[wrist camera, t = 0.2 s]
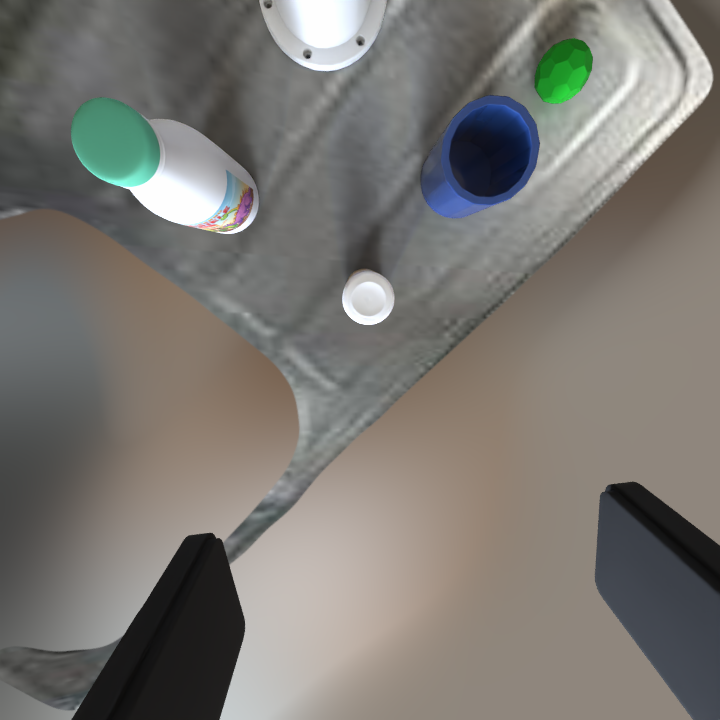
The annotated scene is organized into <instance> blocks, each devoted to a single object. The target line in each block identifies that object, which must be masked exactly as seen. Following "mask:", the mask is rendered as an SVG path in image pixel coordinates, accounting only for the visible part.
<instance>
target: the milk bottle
mask: <svg viewBox="0 0 720 720" xmlns="http://www.w3.org/2000/svg"><path fill="white" fill-rule="evenodd" d="M71 138H72V143H73V147H74V149H75V152H76V154H77V156H78V158H79V159H80V161H81V162H82V163H83V165H84V166H85V167H86V168H87V169H88V170H89V171H90V172H92V173H93V174H94V175H95V176H97V177H98V178H100V179H102V180H104V181H106V182H109V183H112V184H115V185H118V186H122V187H124V188H128V189H130V190H131V192H132V193H133V194H134V196H135V197H136V198H137V199H138V200H139V201H140V202H141V203H142V204H143V205H144V206H145V207H147V208H148V209H149V210H151V211H152V212H154V213H155V214H157V215H159V216H161V217H163V218H165V219H167V220H170V221H173V222H176V223H179V224H182V225H187V226H191V227H195V228H199V229H204V230H209V231H213V232H218V233H226V234H230V233H236V232H239V231H242V230H243V229H245V228H246V227H248V226H249V225H250V224H251V223H252V221H253V220H254V218H255V216H256V214H257V211H258V206H259V195H258V190H257V187H256V184H255V182H254V180H253V178H252V177H251V176H250V174H249V173H248V172H247V171H246V170H245V169H244V168H243V167H242V166H241V165H240V164H239V163H237V162H236V161H235V160H234V159H233V158H231V157H230V156H229V155H228V154H227V153H226V152H224V151H223V150H222V149H221V148H219V147H218V146H217V145H216V144H215V143H213V142H212V141H211V140H209V139H208V138H207V137H205V136H204V135H203V134H201V133H200V132H198V131H197V130H195V129H193V128H191V127H189V126H187V125H185V124H183V123H180V122H177V121H173V120H167V119H152V120H148V119H147V118H145V117H144V116H142V115H141V114H139V113H138V112H137V111H135V110H134V109H133V108H131V107H129V106H128V105H126V104H124V103H122V102H120V101H118V100H115V99H111V98H102V97H100V98H94V99H91V100H89V101H87V102H85V103H84V104H82V105H81V106H80V107H79V109H78V110H77V111H76V113H75V115H74V118H73V121H72V125H71Z"/></svg>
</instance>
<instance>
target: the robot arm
mask: <svg viewBox="0 0 720 720" xmlns="http://www.w3.org/2000/svg"><path fill="white" fill-rule="evenodd" d="M259 2H260V6H261V10H262V13H263V17H264V19H265V22H266V25H267V27H268V29H269V31H270V33H271V35H272V37H273V39H274V40H275V42H276V43H277V44H278V46H279V47H280V48H281V49H282V51H283V52H284V53H285V54H287V55H288V56H289V57H290V58H291V59H292V60H294V61H295V62H297V63H299V64H301V65H302V66H304V67H307V68H310V69H313V70H320V71H331V70H338V69H341V68H344V67H346V66H349V65H350V64H352V63H354V62H355V61H357V60H358V59H360V58H361V57H362V56H363V55H364V54H365V53H366V52H367V51H368V49H369V48H370V47H371V45H372V44H373V42H374V41H375V39H376V37H377V35H378V33H379V31H380V29H381V26H382V22H383V19H384V15H385V9H386V3H387V0H259ZM268 7H271V8H269V9H268ZM360 43H361V44H362V46H359V45H358V44H360ZM307 56H310V57H311V58H309V59H306V57H307ZM598 522H599V523H598V537H597V553H596V569H595V582H596V586H597V589H598V591H599V593H600V595H601V596H602V597H603V599H604V600H605V602H606V603H607V605H608V606H609V607H610V608H611V610H612V611H613V613H614V614H615V615H616V617H617V618H618V619H619V621H620V622H621V623H622V625H623V626H624V627H625V629H626V630H627V631H628V633H629V634H630V635H631V637H632V638H633V639H634V641H635V642H636V643H637V645H638V646H639V648H640V649H641V650H642V652H643V653H644V654H645V656H646V657H647V658H648V660H649V661H650V662H651V663H652V665H653V666H654V668H655V669H656V670H657V672H658V673H659V674H660V676H661V677H662V678H663V680H664V681H665V682H666V684H667V685H668V687H669V688H670V689H671V691H672V692H673V693H674V694H675V696H676V697H677V699H678V700H679V701H680V703H681V704H682V705H683V707H684V708H685V709H686V711H687V712H688V713H689V715H690V716H691V717H692V719H693V720H720V545H718V544H717V543H716V542H714V541H713V540H712V539H711V538H709V537H708V536H706V535H705V534H704V533H703V532H701V531H700V530H699V529H698V528H696V527H695V526H694V525H692V524H691V523H690V522H688V521H687V520H686V519H685V518H683V517H682V516H681V515H679V514H678V513H677V512H675V511H674V510H673V509H672V508H670V507H669V506H668V505H666V504H665V503H664V502H662V501H661V500H660V499H659V498H657V497H656V496H654V495H653V494H652V493H650V492H649V491H648V490H647V489H645V488H644V487H643V486H642V485H640V484H638V483H636V482H627V483H618V484H611V485H608V486H607V487H606V490H605V492H602V493H601V495H600V505H599V521H598ZM244 632H245V620H244V616H243V612H242V609H241V605H240V601H239V598H238V595H237V591H236V588H235V584H234V581H233V577H232V573H231V570H230V566H229V563H228V559H227V556H226V552H225V549H224V545H223V542H222V540H221V539H220V538H217V539H216V537H215V535H214V534H213V533H205V534H197V535H189V536H187V537H186V538H185V539H184V541H183V542H182V544H181V546H180V547H179V549H178V550H177V552H176V554H175V555H174V557H173V558H172V560H171V562H170V563H169V565H168V566H167V568H166V570H165V572H164V573H163V575H162V576H161V578H160V579H159V581H158V583H157V584H156V586H155V587H154V589H153V591H152V592H151V594H150V596H149V597H148V599H147V601H146V602H145V604H144V605H143V607H142V608H141V610H140V611H139V612H138V614H137V615H136V617H135V618H134V620H133V622H132V623H131V625H130V626H129V628H128V629H127V631H126V633H125V634H124V636H123V637H122V639H121V641H120V642H119V644H118V646H117V647H116V649H115V650H114V652H113V654H112V655H111V657H110V658H109V660H108V662H107V663H106V665H105V666H104V668H103V670H102V671H101V673H100V675H99V676H98V678H97V679H96V681H95V683H94V684H93V686H92V687H91V689H90V691H89V692H88V694H87V695H86V697H85V699H84V700H83V702H82V703H81V705H80V707H79V708H78V710H77V712H76V713H75V715H74V717H73V718H72V720H219V719H220V716H221V712H222V709H223V706H224V702H225V699H226V695H227V692H228V689H229V685H230V682H231V679H232V675H233V672H234V669H235V665H236V662H237V658H238V655H239V652H240V648H241V645H242V642H243V638H244Z"/></svg>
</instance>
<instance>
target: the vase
mask: <svg viewBox="0 0 720 720" xmlns="http://www.w3.org/2000/svg"><path fill="white" fill-rule="evenodd" d="M539 146H540V142H539V137H538V131H537V126H536V123H535V121H534V120H533V118H532V117H531V115H530V114H529V112H528V111H527V109H526V108H525V107H524V106H523V105H521V104H520V103H518V102H516V101H515V100H513V99H511V98H510V97H507V96H494V95H487V96H484V97H482V98H479V99H477V100H474V101H472V102H469V103H468V104H467V105H466V106H465V107H464V108H463V109H461V110H460V111H459V112H458V113H457V114H456V115H455V116H454V117H453V119H452V120H451V121H450V123H449V124H448V126H447V127H446V129H445V130H444V132H443V133H442V135H441V136H440V137H439V139H438V140H437V142H436V143H435V145H434V146H433V148H432V149H431V150H430V152H429V154H428V156H427V158H426V160H425V162H424V164H423V168H422V171H421V189H422V193H423V196H424V198H425V200H426V202H427V203H428V205H429V206H430V207H431V208H432V209H433V210H434V211H435V212H437V213H438V214H440V215H442V216H445V217H448V218H462V217H465V216H468V215H471V214H473V213H476V212H479V211H481V210H484V209H486V208H489V207H491V206H494V205H496V204H499V203H501V202H504V201H506V200H509V199H510V198H512V197H513V196H514V195H515V194H516V193H517V192H519V191H520V190H521V189H522V188H523V187H524V186H525V185H526V184H527V182H528V180H529V178H530V176H531V175H532V173H533V171H534V169H535V167H536V164H537V158H538V152H539Z"/></svg>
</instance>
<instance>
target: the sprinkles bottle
mask: <svg viewBox="0 0 720 720" xmlns="http://www.w3.org/2000/svg"><path fill="white" fill-rule="evenodd" d="M394 299H395V297H394V291H393V288H392V286H391V284H390V283H389V281H388V280H387V279H386V278H385V277H384V276H382V275H380V274H379V273H376V272H374V271H372V270H370V269H359V270H357V271H355V272H354V273H352V274H351V275H350V277H349V279H348V280H347V283H346V285H345V288H344V291H343V297H342V300H343V306H344V309H345V311H346V313H347V314H348V315H349V316H350V317H351V318H352V319H353V320H354V321H356V322H358V323H361V324H366V325H370V324H376V323H379V322H381V321H382V320H384V319H385V318H386V317H387V316H388V315H389V314H390V312H391V310H392V308H393V305H394Z"/></svg>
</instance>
